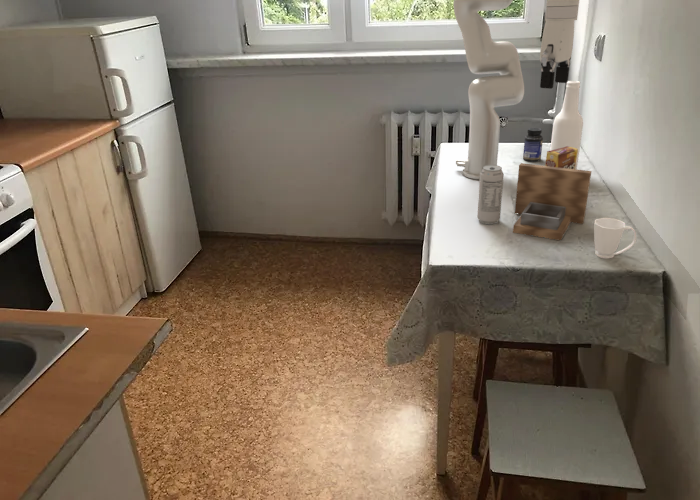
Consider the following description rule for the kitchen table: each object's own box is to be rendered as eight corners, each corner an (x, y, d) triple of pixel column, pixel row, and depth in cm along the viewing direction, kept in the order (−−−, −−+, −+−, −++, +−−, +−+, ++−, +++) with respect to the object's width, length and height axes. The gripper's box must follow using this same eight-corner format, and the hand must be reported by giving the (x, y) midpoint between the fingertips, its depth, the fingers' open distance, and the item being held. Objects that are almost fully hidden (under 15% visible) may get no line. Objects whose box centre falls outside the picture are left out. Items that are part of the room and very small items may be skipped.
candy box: (551, 206, 166) (557, 154, 159) (539, 201, 169) (545, 150, 163) (571, 199, 170) (578, 148, 164) (559, 195, 173) (565, 145, 167)
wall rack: (501, 230, 151) (505, 179, 145) (516, 211, 163) (521, 163, 157) (573, 242, 143) (581, 189, 137) (583, 221, 155) (591, 171, 149)
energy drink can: (500, 217, 159) (504, 164, 153) (499, 225, 154) (503, 171, 148) (477, 215, 161) (481, 163, 155) (476, 224, 156) (479, 170, 149)
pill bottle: (542, 162, 204) (546, 130, 199) (525, 162, 204) (528, 131, 199) (537, 157, 209) (541, 126, 205) (520, 157, 209) (523, 127, 205)
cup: (584, 248, 140) (589, 217, 137) (627, 248, 140) (633, 217, 136) (594, 261, 134) (599, 229, 131) (638, 261, 133) (645, 228, 130)
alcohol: (546, 171, 195) (556, 79, 182) (573, 171, 193) (586, 79, 180) (548, 179, 187) (560, 83, 174) (577, 180, 185) (591, 84, 172)
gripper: (559, 12, 151) (552, 79, 158) (532, 16, 139) (526, 89, 146) (589, 11, 147) (580, 81, 154) (563, 16, 135) (555, 91, 142)
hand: (554, 85), depth 150 cm, fingers open, 9 cm apart
